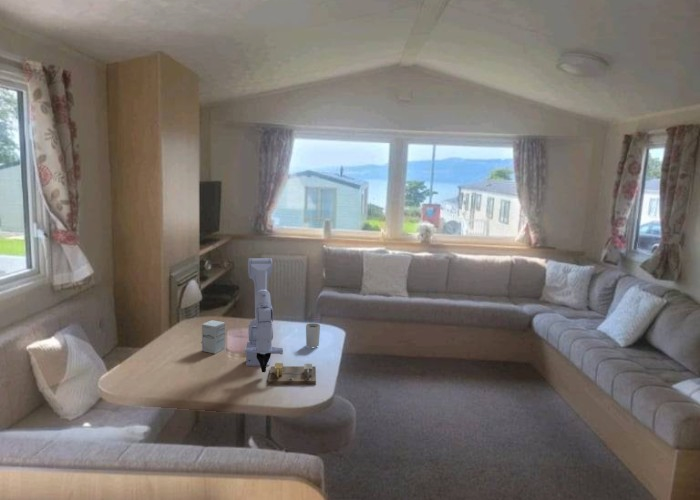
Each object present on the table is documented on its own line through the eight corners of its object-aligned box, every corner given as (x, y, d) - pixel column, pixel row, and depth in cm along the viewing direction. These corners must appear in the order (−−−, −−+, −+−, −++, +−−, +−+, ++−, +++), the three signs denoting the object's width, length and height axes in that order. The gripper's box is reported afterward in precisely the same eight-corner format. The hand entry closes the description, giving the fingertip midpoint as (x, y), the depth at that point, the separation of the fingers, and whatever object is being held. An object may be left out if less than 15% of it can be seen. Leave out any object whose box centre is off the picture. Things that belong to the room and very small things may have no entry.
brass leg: (273, 379, 183) (273, 371, 182) (275, 370, 191) (275, 362, 191) (281, 379, 183) (281, 371, 183) (282, 370, 191) (282, 363, 191)
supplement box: (201, 351, 213) (201, 323, 211) (212, 346, 220) (211, 319, 218) (215, 354, 210) (215, 326, 208) (225, 349, 217) (225, 321, 215)
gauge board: (268, 384, 182) (268, 373, 181) (270, 369, 196) (271, 359, 195) (315, 384, 183) (316, 373, 183) (315, 369, 197) (315, 359, 197)
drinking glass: (317, 349, 221) (318, 328, 219) (303, 347, 222) (304, 326, 221) (321, 344, 227) (321, 323, 226) (307, 342, 229) (308, 322, 227)
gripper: (243, 341, 182) (243, 375, 184) (282, 341, 183) (281, 375, 185) (246, 335, 189) (246, 368, 191) (283, 335, 190) (282, 368, 192)
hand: (263, 371), depth 188 cm, fingers closed
